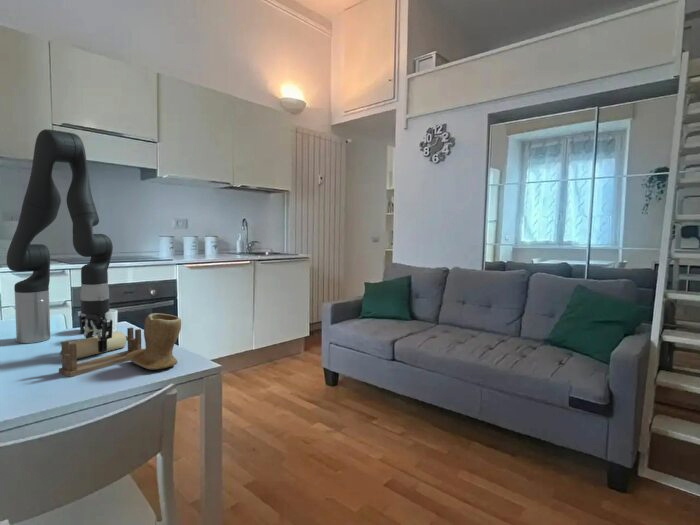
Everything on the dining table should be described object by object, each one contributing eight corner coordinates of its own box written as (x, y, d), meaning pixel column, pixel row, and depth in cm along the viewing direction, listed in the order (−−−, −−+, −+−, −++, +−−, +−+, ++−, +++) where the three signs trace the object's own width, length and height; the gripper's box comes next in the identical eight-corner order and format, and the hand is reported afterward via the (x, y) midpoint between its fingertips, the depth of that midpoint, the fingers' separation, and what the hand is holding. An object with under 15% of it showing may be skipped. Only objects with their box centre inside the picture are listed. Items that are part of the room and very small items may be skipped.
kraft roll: (56, 360, 118) (56, 342, 118) (121, 344, 136) (121, 328, 135) (67, 364, 116) (67, 345, 115) (131, 347, 133) (131, 331, 133)
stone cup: (188, 365, 117) (188, 315, 116) (147, 376, 108) (146, 321, 107) (164, 354, 127) (164, 307, 126) (124, 363, 118) (123, 313, 116)
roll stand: (58, 372, 108) (57, 342, 108) (132, 353, 127) (131, 326, 126) (70, 377, 106) (70, 345, 105) (144, 356, 124) (143, 329, 123)
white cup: (106, 342, 137) (105, 314, 137) (86, 340, 139) (85, 312, 138) (123, 336, 145) (122, 309, 144) (104, 335, 147) (104, 308, 146)
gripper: (69, 297, 124) (70, 349, 126) (96, 301, 118) (97, 357, 119) (94, 294, 131) (95, 343, 132) (120, 298, 124) (121, 350, 126)
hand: (96, 349), depth 126 cm, fingers open, 6 cm apart
